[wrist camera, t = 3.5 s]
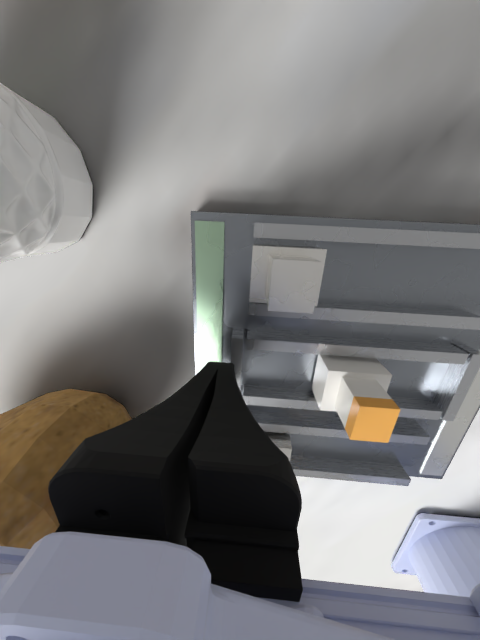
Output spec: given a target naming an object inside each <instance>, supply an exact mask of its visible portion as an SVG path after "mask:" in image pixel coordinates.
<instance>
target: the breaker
mask: <svg viewBox="0 0 480 640" xmlns="http://www.w3.org/2000/svg"><path fill="white" fill-rule="evenodd" d="M391 378H392V374H391V373H390V372H389V371H388V370H387V369H386V368H385V367H384V366H383V365H382V364H381V363H380V362H379V361H378V360H377V359H376V358H363V357H349V356H335V355H321V354H318V358H317V363H316V368H315V373H314V378H313V384H312V390H313V393H314V396H315V399H316V401H317V404H318V407H319V409H320V410H324V411H336V412H337V413H338V415H339V417H340V419H341V421H342V424H343V426H344V428H345V430H346V432H347V434H348V436H349V439H350V440H359V441H371V442H383V443H388V442H389V439H390V437H391V434H392V431H393V429H394V426H395V423H396V421H397V418H398V416H399V413H400V410H401V409H400V408H399V407H398V406H397V404H396V403H395V402H394V401H393V400H392V398H391V397H390V396H389V395H388V394H387V390H388V387H389V384H390V381H391Z"/></svg>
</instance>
